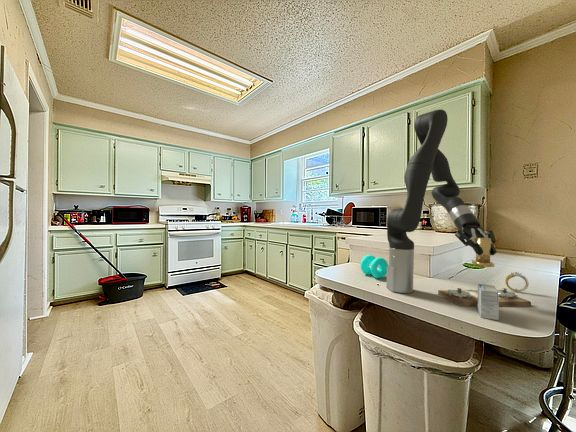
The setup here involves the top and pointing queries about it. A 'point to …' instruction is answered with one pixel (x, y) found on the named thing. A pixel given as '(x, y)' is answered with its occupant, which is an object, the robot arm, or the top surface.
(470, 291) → the gear board
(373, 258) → the donuts
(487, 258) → the gold metal cylinder
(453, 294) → the steel gears
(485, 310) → the medicine box
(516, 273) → the bracelet
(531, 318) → the top surface
